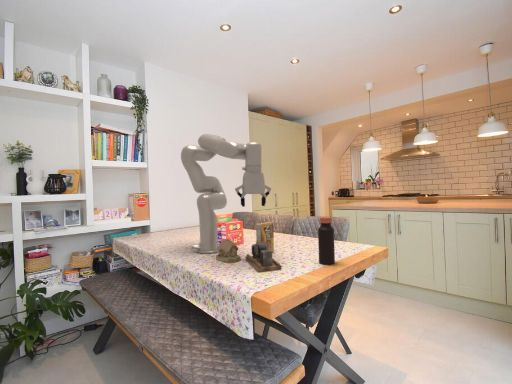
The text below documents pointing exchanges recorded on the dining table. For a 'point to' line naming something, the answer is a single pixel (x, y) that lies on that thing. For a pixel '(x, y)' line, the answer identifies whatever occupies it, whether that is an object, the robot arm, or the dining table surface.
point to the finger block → (259, 247)
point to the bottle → (326, 241)
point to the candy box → (265, 234)
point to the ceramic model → (227, 252)
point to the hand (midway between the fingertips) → (253, 206)
